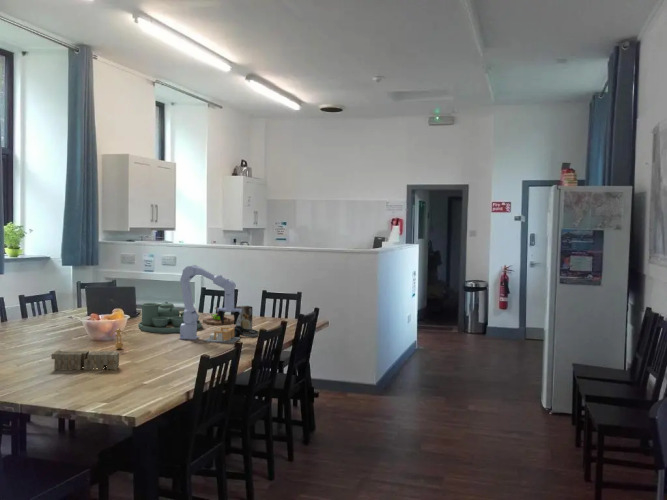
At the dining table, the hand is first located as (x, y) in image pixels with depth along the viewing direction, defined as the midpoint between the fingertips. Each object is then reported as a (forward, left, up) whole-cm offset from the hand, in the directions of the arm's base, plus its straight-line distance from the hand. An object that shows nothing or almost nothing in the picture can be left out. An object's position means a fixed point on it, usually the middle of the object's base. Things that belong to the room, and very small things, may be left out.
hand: (228, 324), depth 346 cm
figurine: (-50, -38, -10) cm, 63 cm away
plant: (-25, +57, -10) cm, 63 cm away
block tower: (-45, -79, -10) cm, 91 cm away
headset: (+4, +17, -10) cm, 21 cm away
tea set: (-49, +31, -10) cm, 59 cm away
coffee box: (0, +32, -10) cm, 33 cm away
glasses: (-3, 0, -8) cm, 9 cm away
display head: (-4, 0, -10) cm, 11 cm away
